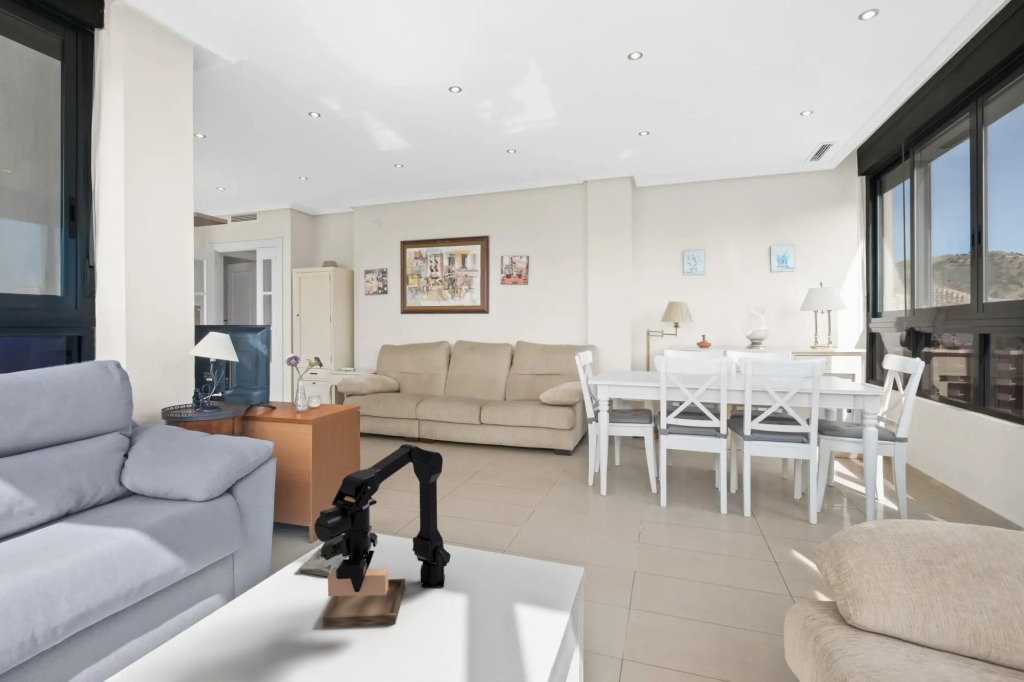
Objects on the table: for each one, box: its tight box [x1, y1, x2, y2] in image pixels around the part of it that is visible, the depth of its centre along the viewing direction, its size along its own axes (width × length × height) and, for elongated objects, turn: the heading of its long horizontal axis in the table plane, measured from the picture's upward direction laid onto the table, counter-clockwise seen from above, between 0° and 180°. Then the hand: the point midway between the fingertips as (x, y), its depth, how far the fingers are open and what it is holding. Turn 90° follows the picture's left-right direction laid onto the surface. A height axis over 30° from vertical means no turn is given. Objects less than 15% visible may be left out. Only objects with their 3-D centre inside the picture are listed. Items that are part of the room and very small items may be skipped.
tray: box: [322, 578, 406, 628], centre depth 132 cm, size 18×18×2 cm
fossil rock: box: [298, 548, 349, 578], centre depth 155 cm, size 18×15×2 cm
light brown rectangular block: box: [327, 568, 389, 597], centre depth 121 cm, size 14×3×5 cm, turn 91°
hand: (358, 587), depth 121 cm, fingers closed on light brown rectangular block, 3 cm apart
